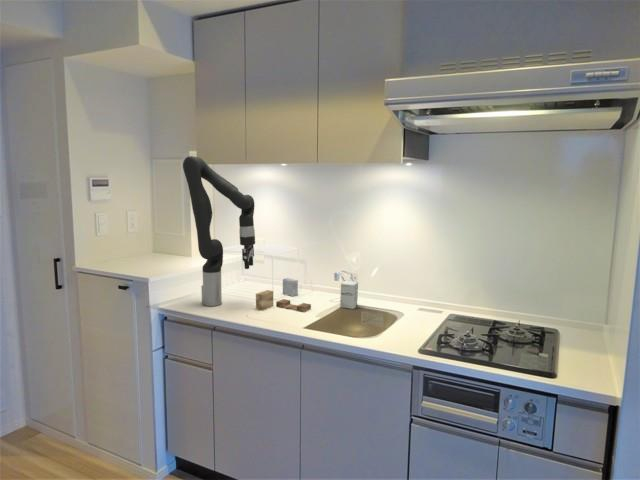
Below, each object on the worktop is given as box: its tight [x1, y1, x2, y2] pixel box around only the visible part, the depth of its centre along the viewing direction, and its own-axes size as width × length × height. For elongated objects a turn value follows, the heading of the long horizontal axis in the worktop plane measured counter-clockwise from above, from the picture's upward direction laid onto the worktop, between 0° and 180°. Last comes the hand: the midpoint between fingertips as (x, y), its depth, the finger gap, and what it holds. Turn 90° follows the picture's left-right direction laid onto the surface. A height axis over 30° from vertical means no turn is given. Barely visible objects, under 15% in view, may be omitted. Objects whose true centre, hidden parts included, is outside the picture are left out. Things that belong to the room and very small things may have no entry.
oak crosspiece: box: [255, 289, 274, 311], centre depth 233 cm, size 4×9×8 cm, turn 149°
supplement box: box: [339, 280, 359, 310], centre depth 237 cm, size 7×7×13 cm
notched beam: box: [275, 298, 312, 313], centre depth 233 cm, size 17×6×2 cm, turn 58°
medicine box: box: [282, 277, 299, 297], centre depth 258 cm, size 8×4×9 cm, turn 49°
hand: (249, 267), depth 233 cm, fingers open, 8 cm apart
